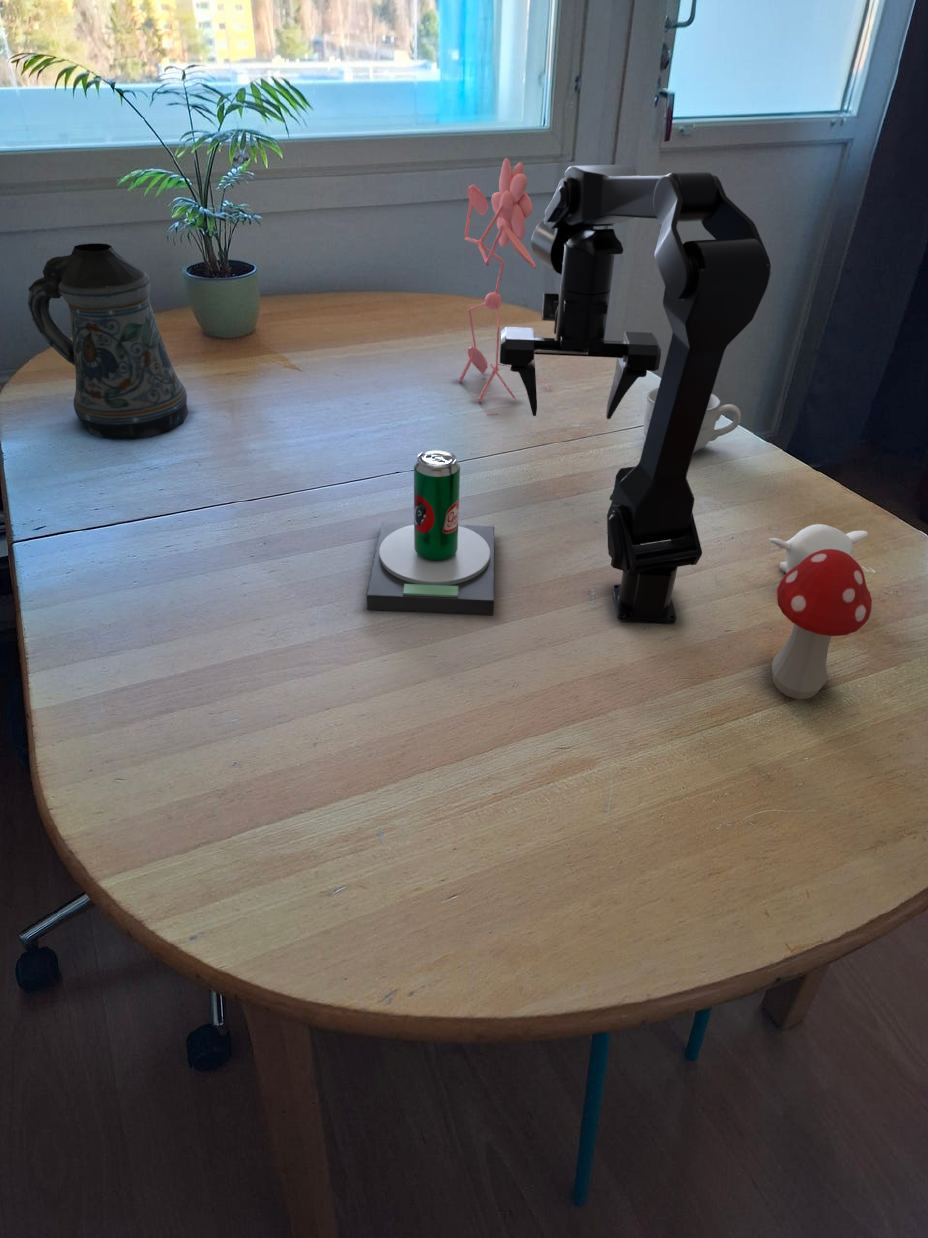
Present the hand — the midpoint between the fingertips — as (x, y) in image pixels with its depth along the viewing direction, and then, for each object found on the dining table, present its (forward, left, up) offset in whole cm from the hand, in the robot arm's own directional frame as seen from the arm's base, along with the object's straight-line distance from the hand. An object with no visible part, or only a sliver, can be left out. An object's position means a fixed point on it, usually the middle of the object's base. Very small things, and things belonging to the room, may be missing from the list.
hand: (571, 416), depth 109 cm
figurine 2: (-17, -28, -13) cm, 35 cm away
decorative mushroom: (-34, -22, -13) cm, 43 cm away
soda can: (-16, +16, -11) cm, 25 cm away
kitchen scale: (-17, +16, -13) cm, 27 cm away
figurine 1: (+41, +7, -13) cm, 44 cm away
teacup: (+20, -20, -13) cm, 31 cm away
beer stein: (+22, +66, -13) cm, 71 cm away
